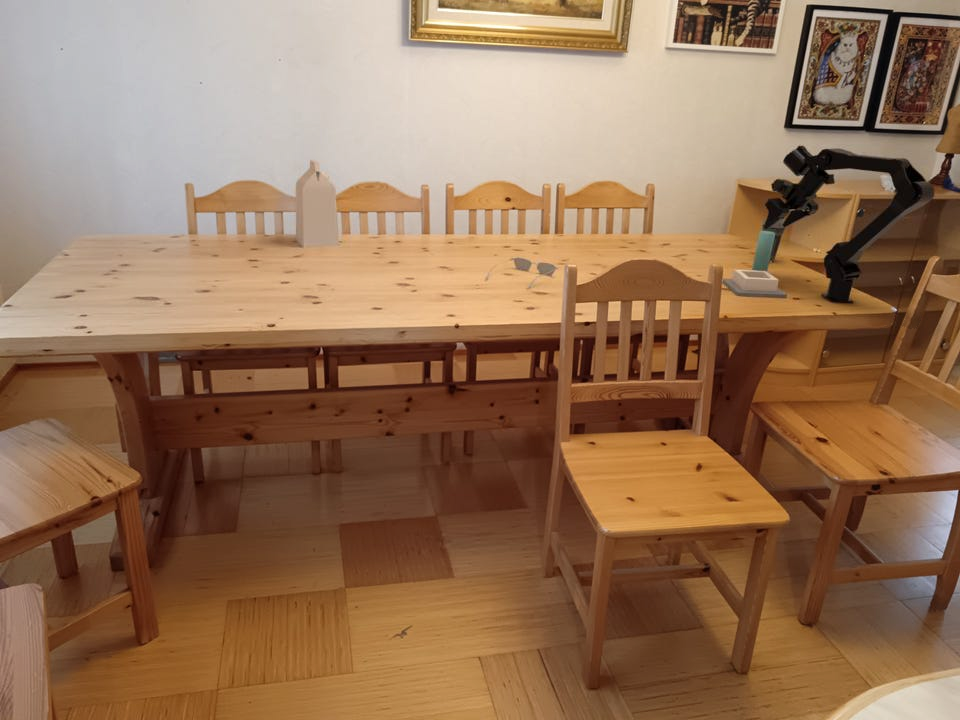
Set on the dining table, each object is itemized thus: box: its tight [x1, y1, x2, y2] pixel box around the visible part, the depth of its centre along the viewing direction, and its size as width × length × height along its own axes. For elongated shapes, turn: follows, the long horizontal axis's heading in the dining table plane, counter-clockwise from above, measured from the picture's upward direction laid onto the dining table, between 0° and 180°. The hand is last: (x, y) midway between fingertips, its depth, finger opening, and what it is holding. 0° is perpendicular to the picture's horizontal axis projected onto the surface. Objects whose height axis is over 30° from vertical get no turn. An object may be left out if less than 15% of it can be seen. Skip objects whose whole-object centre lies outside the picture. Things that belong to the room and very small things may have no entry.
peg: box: [751, 230, 775, 272], centre depth 223 cm, size 4×4×13 cm
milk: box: [295, 159, 340, 249], centre depth 229 cm, size 12×12×26 cm
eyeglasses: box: [484, 257, 559, 291], centre depth 206 cm, size 15×18×4 cm
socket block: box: [722, 269, 788, 299], centre depth 206 cm, size 14×14×4 cm
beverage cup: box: [761, 217, 786, 263], centre depth 237 cm, size 7×7×20 cm
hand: (774, 227), depth 215 cm, fingers open, 9 cm apart
